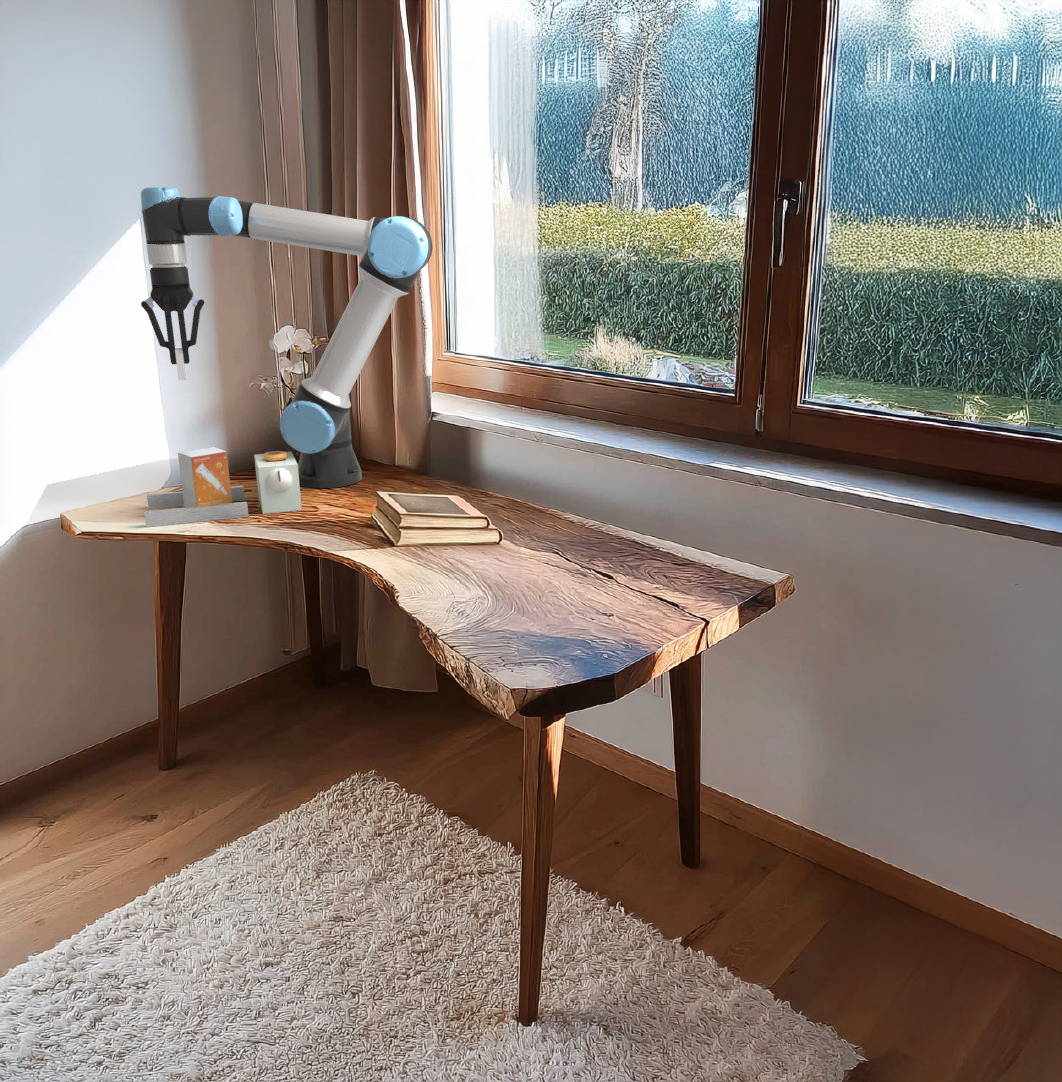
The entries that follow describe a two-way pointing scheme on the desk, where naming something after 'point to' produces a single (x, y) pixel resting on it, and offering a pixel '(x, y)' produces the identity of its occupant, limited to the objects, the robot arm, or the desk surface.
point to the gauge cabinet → (278, 484)
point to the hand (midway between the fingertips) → (182, 379)
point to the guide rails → (192, 509)
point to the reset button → (275, 456)
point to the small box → (205, 477)
